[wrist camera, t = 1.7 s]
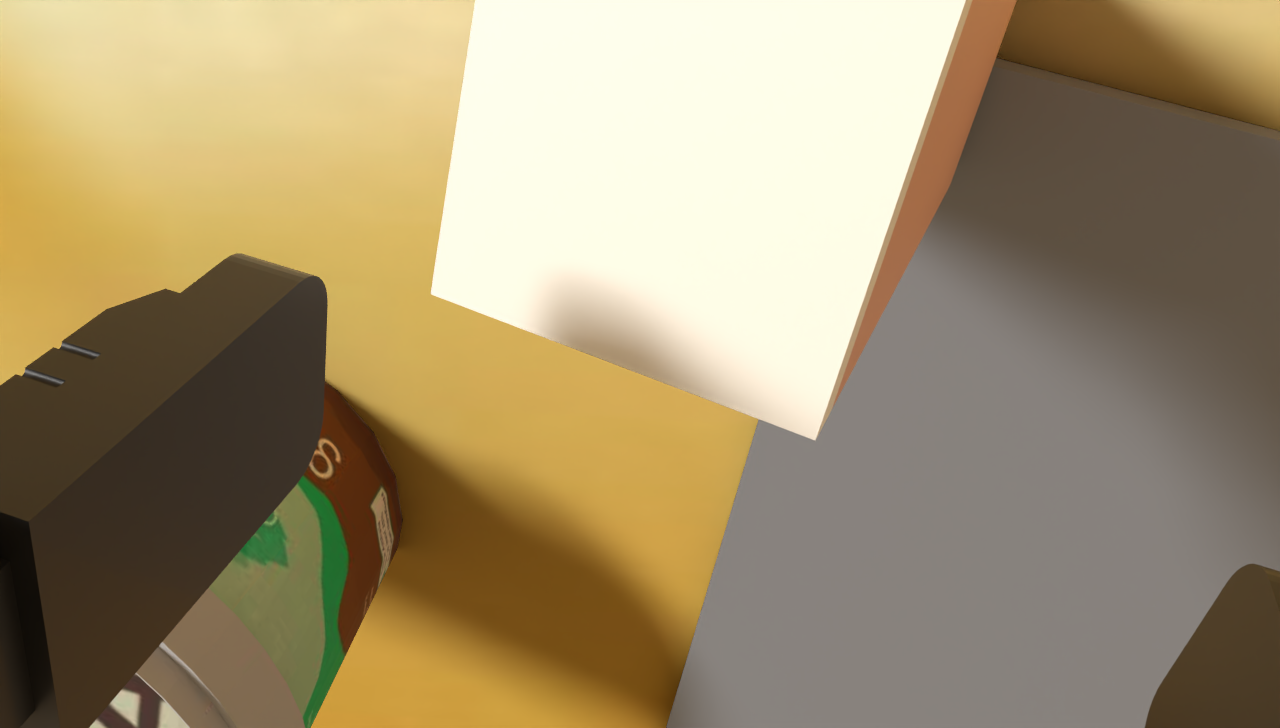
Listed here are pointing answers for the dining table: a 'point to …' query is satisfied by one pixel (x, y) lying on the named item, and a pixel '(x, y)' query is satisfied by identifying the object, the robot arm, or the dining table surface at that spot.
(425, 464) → the dining table surface
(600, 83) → the block
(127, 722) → the food container
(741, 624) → the mat
